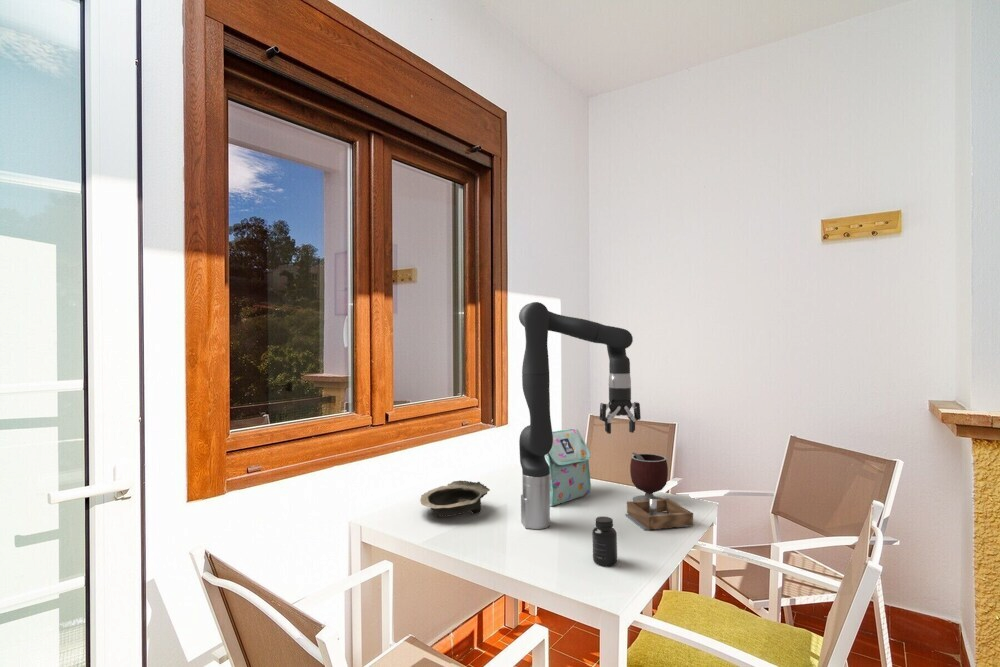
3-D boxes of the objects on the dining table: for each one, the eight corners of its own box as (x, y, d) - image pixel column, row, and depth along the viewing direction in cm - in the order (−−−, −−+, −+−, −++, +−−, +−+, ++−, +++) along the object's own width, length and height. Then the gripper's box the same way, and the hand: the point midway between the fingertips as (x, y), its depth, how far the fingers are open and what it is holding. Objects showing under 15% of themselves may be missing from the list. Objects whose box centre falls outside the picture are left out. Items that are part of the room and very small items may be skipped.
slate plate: (644, 530, 167) (644, 528, 167) (625, 515, 181) (625, 514, 181) (683, 526, 170) (682, 525, 170) (661, 512, 184) (661, 511, 184)
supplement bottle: (599, 554, 149) (599, 513, 149) (621, 560, 145) (621, 518, 145) (588, 562, 144) (587, 519, 144) (610, 569, 140) (609, 525, 140)
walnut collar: (648, 529, 167) (648, 517, 167) (627, 513, 182) (626, 501, 182) (693, 525, 170) (693, 513, 170) (667, 509, 186) (667, 498, 186)
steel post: (651, 520, 174) (651, 500, 174) (648, 518, 177) (647, 498, 177) (658, 520, 175) (658, 499, 175) (654, 517, 177) (654, 497, 177)
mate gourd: (647, 494, 206) (647, 444, 206) (676, 503, 194) (675, 450, 194) (619, 501, 198) (619, 449, 198) (647, 511, 186) (647, 456, 186)
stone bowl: (499, 506, 192) (498, 481, 192) (468, 534, 170) (467, 507, 169) (443, 496, 203) (442, 474, 202) (406, 522, 180) (405, 496, 180)
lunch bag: (554, 509, 189) (553, 436, 189) (524, 498, 201) (523, 430, 202) (594, 496, 203) (594, 429, 203) (564, 487, 216) (564, 423, 216)
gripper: (605, 387, 173) (605, 435, 173) (643, 386, 176) (644, 433, 176) (596, 385, 180) (596, 431, 180) (633, 384, 183) (634, 430, 183)
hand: (620, 432), depth 178 cm, fingers open, 8 cm apart
